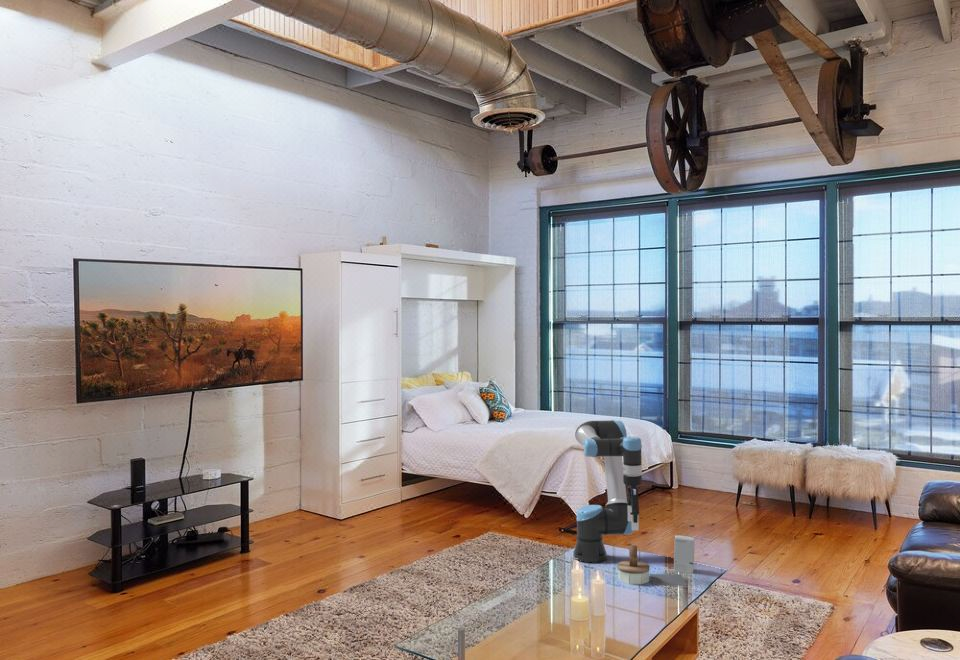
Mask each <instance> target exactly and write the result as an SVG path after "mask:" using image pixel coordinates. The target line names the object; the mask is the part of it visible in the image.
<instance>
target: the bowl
mask: <svg viewBox="0 0 960 660" xmlns="http://www.w3.org/2000/svg"><path fill="white" fill-rule="evenodd" d="M617 570H618V575H617V576H618V580H619V582H621V583H624V584H627V585H644V584H647V583H649V582H650V570H649V571H648V572H646V573H641V574H631V573H625V572H622V571H620V570H619V569H618V568H617Z"/></svg>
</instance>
